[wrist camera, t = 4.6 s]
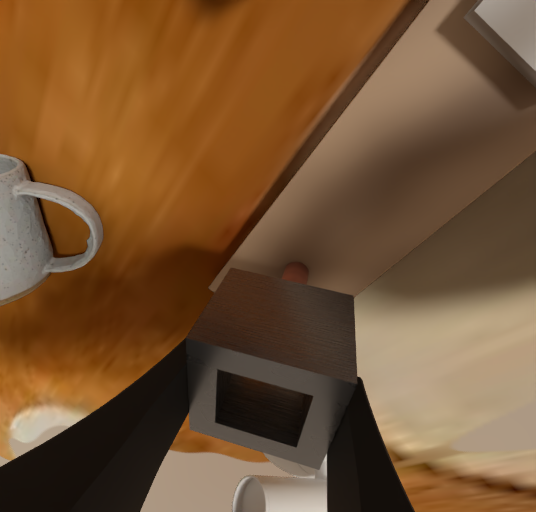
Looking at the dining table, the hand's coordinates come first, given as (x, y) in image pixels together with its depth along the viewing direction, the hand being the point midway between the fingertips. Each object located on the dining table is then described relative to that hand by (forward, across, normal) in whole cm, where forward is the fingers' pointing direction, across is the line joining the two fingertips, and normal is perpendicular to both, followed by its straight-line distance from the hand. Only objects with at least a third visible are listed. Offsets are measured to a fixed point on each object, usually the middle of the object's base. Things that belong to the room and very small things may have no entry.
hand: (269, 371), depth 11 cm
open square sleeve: (+2, 0, 0) cm, 2 cm away
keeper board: (+8, -3, -5) cm, 10 cm away
